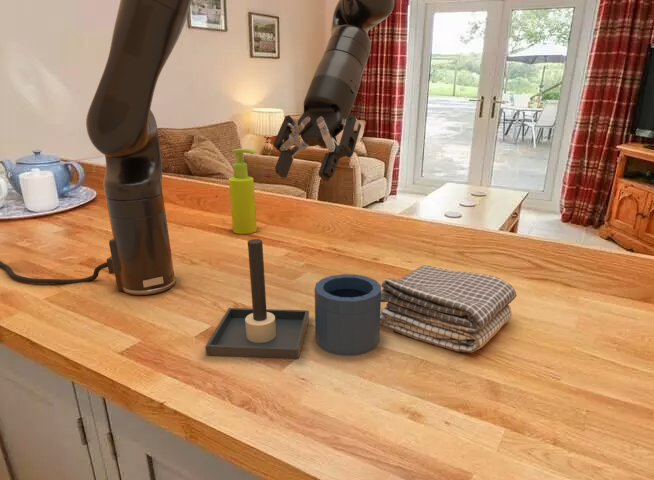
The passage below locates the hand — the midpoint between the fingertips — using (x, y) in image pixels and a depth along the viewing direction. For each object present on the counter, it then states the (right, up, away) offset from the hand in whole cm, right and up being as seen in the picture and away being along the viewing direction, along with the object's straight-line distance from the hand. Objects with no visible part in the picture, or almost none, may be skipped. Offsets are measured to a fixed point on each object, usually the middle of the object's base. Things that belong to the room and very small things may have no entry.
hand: (301, 177), depth 76 cm
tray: (-6, -25, -2) cm, 26 cm away
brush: (-6, -24, -3) cm, 25 cm away
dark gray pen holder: (+7, -25, -3) cm, 26 cm away
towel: (+23, -23, +3) cm, 32 cm away
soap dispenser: (-18, -4, +47) cm, 51 cm away
